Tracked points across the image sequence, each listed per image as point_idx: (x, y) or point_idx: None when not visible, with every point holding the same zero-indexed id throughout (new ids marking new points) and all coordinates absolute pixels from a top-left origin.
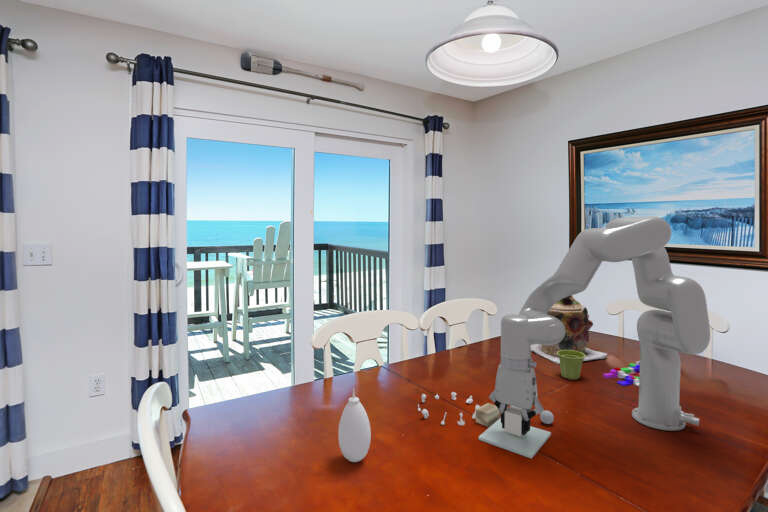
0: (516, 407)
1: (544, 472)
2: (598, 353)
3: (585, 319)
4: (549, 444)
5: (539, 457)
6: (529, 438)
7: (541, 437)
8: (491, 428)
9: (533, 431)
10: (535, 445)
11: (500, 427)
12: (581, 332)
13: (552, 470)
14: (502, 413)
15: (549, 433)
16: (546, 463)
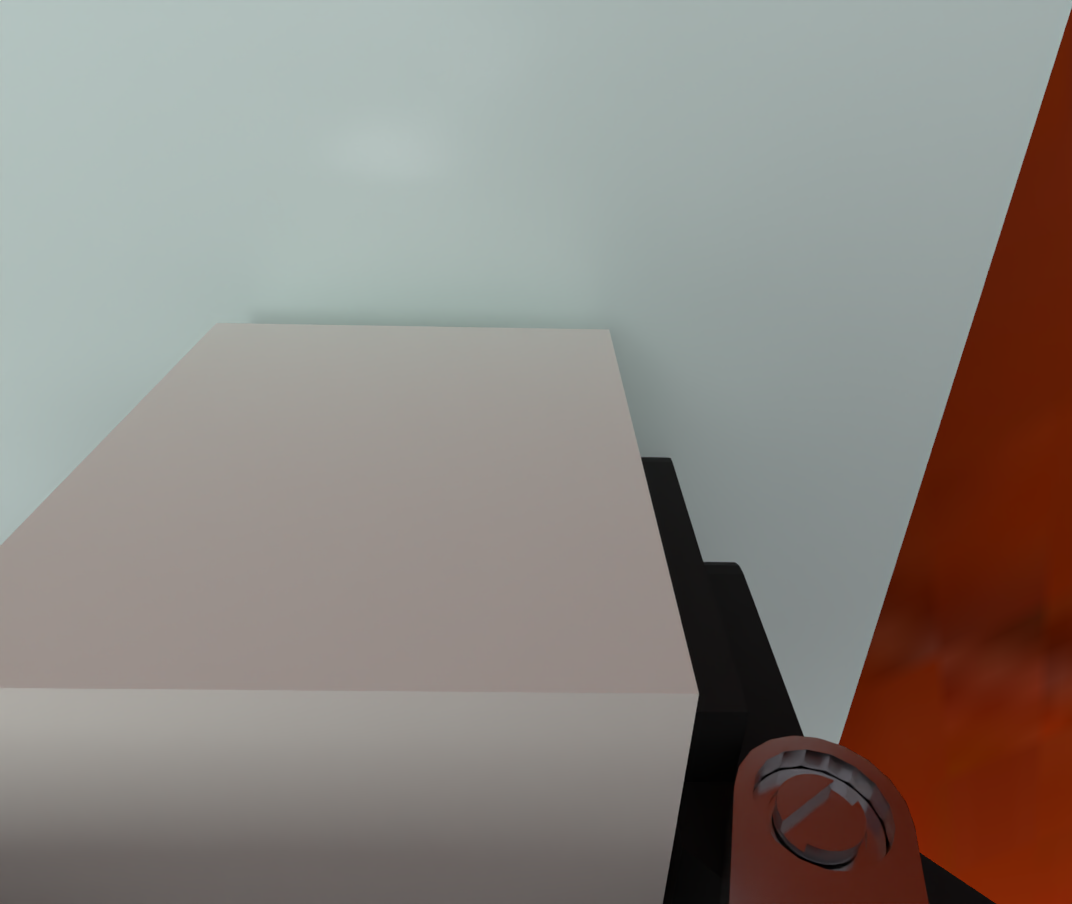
0: (176, 746)
1: (962, 879)
2: None
3: None
4: (1017, 339)
5: (889, 711)
6: (692, 475)
7: (893, 314)
8: (1, 537)
9: (695, 162)
10: (827, 608)
11: (82, 420)
12: None
13: (1044, 825)
14: None
15: (1064, 16)
16: (978, 764)
